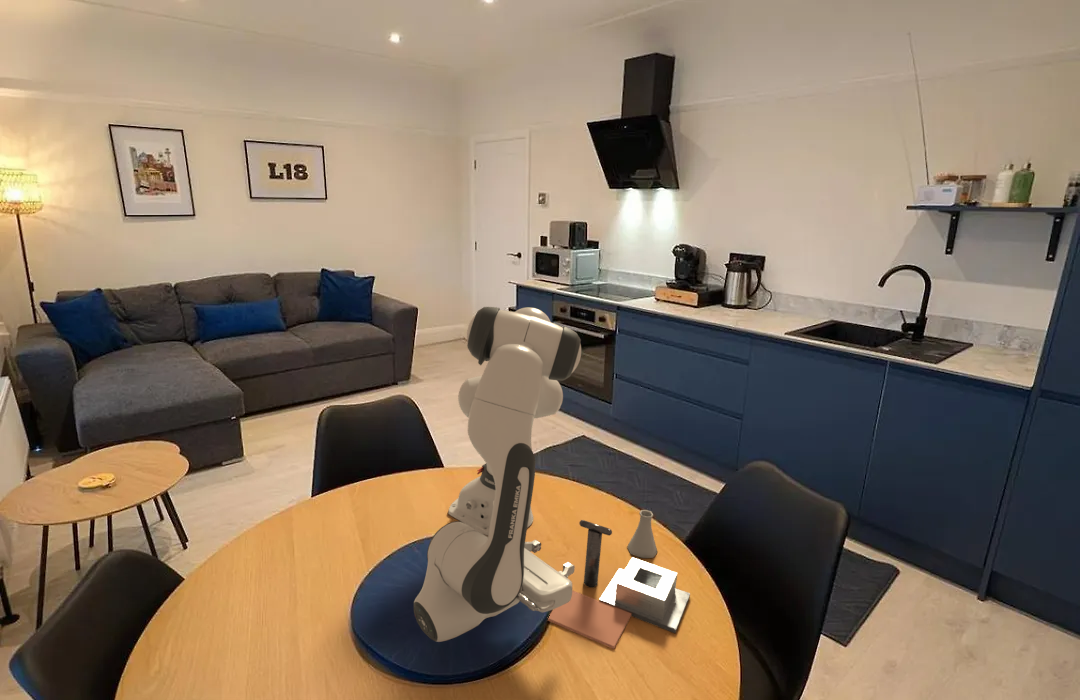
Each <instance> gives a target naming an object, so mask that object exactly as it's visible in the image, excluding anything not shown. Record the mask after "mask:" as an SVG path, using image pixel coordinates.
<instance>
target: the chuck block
mask: <svg viewBox="0 0 1080 700" xmlns="http://www.w3.org/2000/svg"><path fill="white" fill-rule="evenodd" d="M677 578H678V572H676V571H673V570H670V569H668V568H665V567H661V566H658V565H656V564H654V563H650V562H647V561H644V560H641V559H639V558H635V557H633V556H632V557H631V559H630V560H629V562H628V564H627V566H626V567H625V568H624V569H623V568H620V567H619V568H618V570H617V571H616V572H615V574H614V576H613V578H611V581H610V582H609V584H608V585H607V586H606V588H605V590H604V591H603V593H602V594H601V596H600V597H599V600H598V601H601V602H603V603H606V604H609V605H611V606H614V607H616V608H619V609H621V610H624V611H626V612H629V613H631V617H632V618H635V619H638V620H641V621H643V622H646V623H648V624H651V625H653V626H656V627H658V628H660V629H663V630H665V631H668V632H671V633H674V634H676V632H677V630H678V628H679V625H680V623H681V621H682V618H683V615H684V613H685V611H686V607H687V605H688V602H689V600H690V598H691V597H690V596H691V593H690V592H688V591H685V590H681V589H679V588H676V586H677V581H678V579H677Z"/></svg>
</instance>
